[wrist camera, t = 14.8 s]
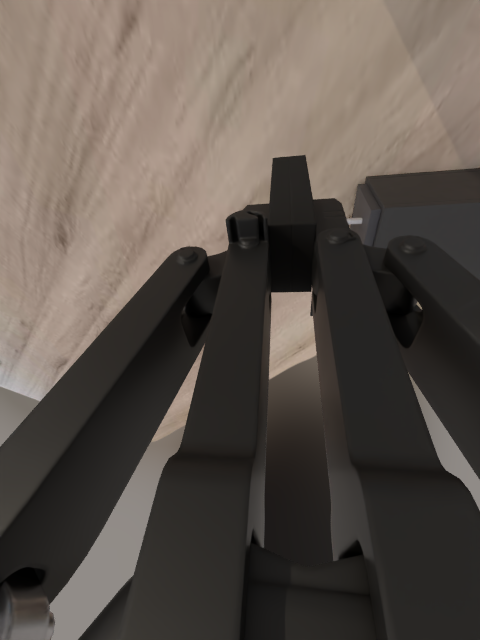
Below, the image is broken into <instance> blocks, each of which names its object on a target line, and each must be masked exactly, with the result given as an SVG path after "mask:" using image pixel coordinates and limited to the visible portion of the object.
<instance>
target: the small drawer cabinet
mask: <svg viewBox="0 0 480 640" xmlns="http://www.w3.org/2000/svg"><path fill="white" fill-rule="evenodd" d="M365 184H367V185H368V187H369V189H370V190H371V192H372V194H373V196H374V197H375V199H376V201H377V203H378V204H379V206H380V208H381V216H380V220H379V224H378V228H377V232H376V236H375V240H374V244H373V247H378V248H386V249H387V246H388V242H389V241H390V240H392V239H393V238H396V237H399V236H408V235H413V236H420V237H422V238H425V239H428V240H430V241H432V242H433V243H435V244H436V245H437V246H439V247H440V248H441V249H442V250H444V251H445V252H446V253H447V254H448V255H450V256H451V257H452V258H453V259H454V260H456V261H457V262H458V263H459V264H460V265H462V266H463V267H464V268H465V269H467V270H468V271H469V272H470V273H471V274H473V275H474V276H475V277H476V278H477V279H479V280H480V168H478V169H464V170H451V171H437V172H424V173H410V174H397V175H383V176H370V177H366V181H365Z"/></svg>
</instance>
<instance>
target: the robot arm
mask: <svg viewBox="0 0 480 640" xmlns="http://www.w3.org/2000/svg"><path fill="white" fill-rule="evenodd" d="M226 226H227V233H228V239H229V246H228V250H227V251H225V252H223V253H220V254H216V255H212V256H208V257H207V253H206V251H205V250H204V249H202V248H199V247H184V248H181V249H179V250H177V251H174V252H173V253H172V254H171V255H170V256H169V257H168V258H167V259H166V260H165V261H164V262H163V263H162V265H161V266H160V267H159V268H158V269H157V270H156V271H155V273H154V274H153V275H152V276H151V277H150V278H149V279H148V280H147V282H146V283H145V284H144V285H143V286H142V287H141V288H140V289H139V291H138V292H137V293H136V294H135V295H134V296H133V297H132V299H131V300H130V301H129V302H128V303H127V304H126V305H125V306H124V308H123V309H122V310H121V311H120V312H119V313H118V314H117V315H116V317H115V318H114V319H113V320H112V321H111V322H110V323H109V325H108V326H107V327H106V328H105V329H104V330H103V331H102V332H101V334H100V335H99V336H98V337H97V338H96V339H95V340H94V341H93V343H92V344H91V345H90V346H89V347H88V348H87V349H86V351H85V352H84V353H83V354H82V355H81V356H80V357H79V358H78V360H77V361H76V362H75V363H74V364H73V365H72V366H71V367H70V369H69V370H68V371H67V372H66V373H65V374H64V375H63V377H62V378H61V379H60V380H59V381H58V382H57V383H56V384H55V386H54V387H53V388H52V389H51V390H50V391H49V392H48V393H47V395H46V396H45V397H44V398H43V399H42V400H41V401H40V403H39V404H38V405H37V406H36V407H35V408H34V410H32V412H31V413H30V414H29V415H28V416H27V417H26V419H25V420H24V421H23V422H22V423H21V424H20V425H19V426H18V428H17V429H16V430H15V431H14V432H13V433H12V434H11V435H10V436H9V438H8V439H7V440H6V441H5V442H4V443H3V444H2V446H1V447H0V640H51V637H52V635H53V632H54V626H55V620H54V615H53V613H52V612H51V611H50V608H49V607H50V606H49V605H50V603H51V602H52V601H53V600H54V598H55V597H56V596H57V595H58V593H59V592H60V591H61V590H62V589H63V587H64V586H65V585H66V584H67V583H68V581H69V580H70V578H71V577H72V575H73V574H74V573H75V571H76V570H77V568H78V567H79V566H80V564H81V563H82V561H83V560H84V558H85V557H86V556H87V554H88V552H89V551H90V549H91V547H92V546H93V544H94V542H95V541H96V539H97V537H98V536H99V534H100V532H101V531H102V529H103V527H104V525H105V524H106V522H107V520H108V518H109V516H110V515H111V513H112V511H113V509H114V507H115V505H116V503H117V502H118V500H119V498H120V496H121V495H122V493H123V491H124V489H125V487H126V485H127V484H128V482H129V480H130V478H131V476H132V475H133V473H134V471H135V469H136V467H137V465H138V464H139V462H140V460H141V458H142V456H143V454H144V453H145V451H146V449H147V447H148V446H149V444H150V442H151V440H152V438H153V436H154V435H155V433H156V431H157V429H158V427H159V426H160V424H161V422H162V420H163V418H164V416H165V415H166V413H167V411H168V409H169V407H170V406H171V404H172V402H173V400H174V398H175V396H176V395H177V393H178V391H179V389H180V387H181V386H182V384H183V382H184V380H185V378H186V376H187V375H188V373H189V371H190V369H191V367H192V366H193V364H194V362H195V360H196V358H197V356H198V355H199V353H200V351H201V349H202V347H203V346H204V344H205V347H204V351H203V355H202V359H201V363H200V368H199V372H198V376H197V380H196V384H195V388H194V393H193V397H192V401H191V405H190V409H189V413H188V418H187V422H186V426H185V430H184V434H183V439H182V442H181V445H180V448H179V450H178V452H177V453H176V454H175V455H173V456H172V457H170V458H169V459H168V461H167V463H166V465H165V466H164V468H163V471H162V474H161V477H160V480H159V483H158V486H157V490H156V494H155V498H154V501H153V505H152V509H151V513H150V516H149V520H148V524H147V527H146V531H145V535H144V539H143V542H142V546H141V550H140V553H139V557H138V561H137V565H136V569H135V572H134V575H133V576H132V577H131V578H130V579H129V580H128V581H127V582H126V583H125V585H124V586H123V587H122V588H121V589H120V590H119V591H118V593H117V594H116V595H115V596H114V598H113V599H112V600H111V601H110V602H109V603H108V605H107V606H106V607H105V608H104V609H103V611H102V612H101V613H100V614H99V615H98V616H97V618H96V619H95V620H94V621H93V623H92V624H91V625H90V626H89V627H88V628H87V630H86V631H85V632H84V633H83V634H82V636H81V637H80V638H79V639H78V640H480V511H479V509H478V507H477V505H476V503H475V501H474V499H473V497H472V495H471V493H470V491H469V490H468V488H467V487H466V486H465V485H464V483H463V482H462V481H461V480H460V479H459V478H457V477H456V476H454V475H452V474H451V473H449V472H448V471H446V470H445V469H444V467H443V466H442V465H441V463H440V460H439V458H438V456H437V453H436V451H435V448H434V445H433V442H432V439H431V436H430V434H429V431H428V428H427V425H426V422H425V419H424V417H423V414H422V411H421V408H420V405H419V402H418V399H417V397H416V394H415V391H414V388H413V385H412V382H411V380H410V377H409V374H410V375H411V377H412V378H413V380H414V381H415V383H416V384H417V386H418V387H419V389H420V390H421V392H422V393H423V395H424V396H425V398H426V399H427V401H428V402H429V404H430V405H431V407H432V409H433V410H434V411H435V413H436V414H437V416H438V417H439V419H440V421H441V422H442V423H443V425H444V427H445V428H446V430H447V431H448V432H449V434H450V436H451V437H452V439H453V440H454V442H455V443H456V445H457V446H458V448H459V449H460V451H461V452H462V453H463V455H464V457H465V458H466V459H467V461H468V463H469V464H470V466H471V467H472V468H473V470H474V472H475V473H476V475H477V476H478V478H479V479H480V280H479V279H477V278H476V277H475V276H474V275H473V274H471V273H470V272H469V271H468V270H467V269H465V268H464V267H463V266H462V265H460V264H459V263H458V262H457V261H456V260H454V259H453V258H452V257H451V256H450V255H448V254H447V253H446V252H445V251H444V250H442V249H441V248H440V247H439V246H437V245H436V244H435V243H433V242H432V241H430V240H428V239H425V238H422V237H420V236H413V235H408V236H399V237H396V238H393V239H392V240H390V241H389V242H388V246H387V249H386V248H378V247H372V246H367V245H364V244H362V241H361V238H360V236H359V235H358V234H357V233H356V232H354V231H352V230H350V228H349V225H348V222H347V219H346V216H345V213H344V210H343V207H342V204H341V203H340V202H339V201H337V200H336V199H335V198H332V199H317V200H313V198H312V192H311V186H310V180H309V174H308V168H307V162H306V156H305V155H301V156H290V157H279V158H273V164H272V177H271V190H270V204H256V205H247V206H246V207H245V208H244V209H243V210H242V211H238V212H235V213H233V214H231V215H230V216H228V217H227V219H226ZM311 289H313V290H312V301H311V313H310V316H313V320H314V331H315V341H316V351H317V361H318V371H319V382H320V392H321V402H322V412H323V422H324V432H325V443H326V453H327V463H328V474H329V484H330V493H331V537H332V549H333V560H334V561H333V562H328V563H323V564H319V565H315V566H302V565H299V564H297V563H295V562H293V561H290V560H288V559H286V558H284V557H282V556H280V555H277V554H275V553H273V552H271V551H269V550H266V549H264V516H265V515H264V487H265V460H266V434H267V406H268V381H269V354H270V328H271V292H311ZM417 301H418V302H419V304H420V305H421V307H422V310H421V309H420V308H419V307H418V306H417V305H416V303H417ZM408 372H409V374H408Z"/></svg>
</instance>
